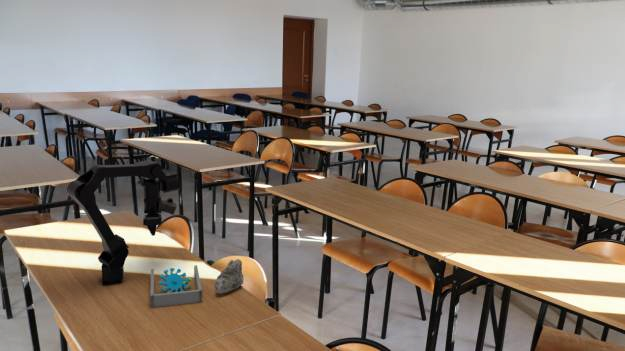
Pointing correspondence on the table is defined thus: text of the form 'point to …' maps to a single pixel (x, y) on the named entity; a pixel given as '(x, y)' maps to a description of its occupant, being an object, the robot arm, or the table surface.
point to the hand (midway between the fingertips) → (153, 235)
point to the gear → (174, 281)
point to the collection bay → (176, 294)
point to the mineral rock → (230, 277)
